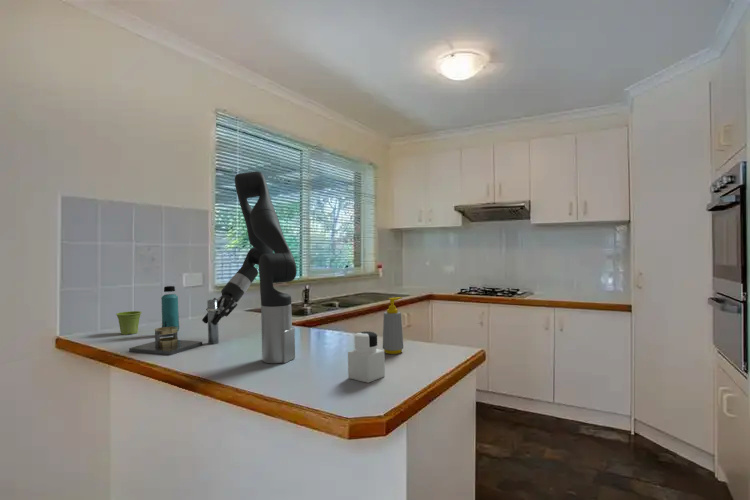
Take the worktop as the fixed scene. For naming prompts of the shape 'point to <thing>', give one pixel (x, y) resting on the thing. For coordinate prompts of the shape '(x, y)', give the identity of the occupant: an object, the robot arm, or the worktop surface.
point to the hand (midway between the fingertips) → (208, 322)
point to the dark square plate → (166, 343)
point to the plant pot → (129, 322)
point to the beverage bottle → (170, 308)
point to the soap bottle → (392, 329)
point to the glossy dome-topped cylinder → (212, 329)
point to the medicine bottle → (366, 358)
